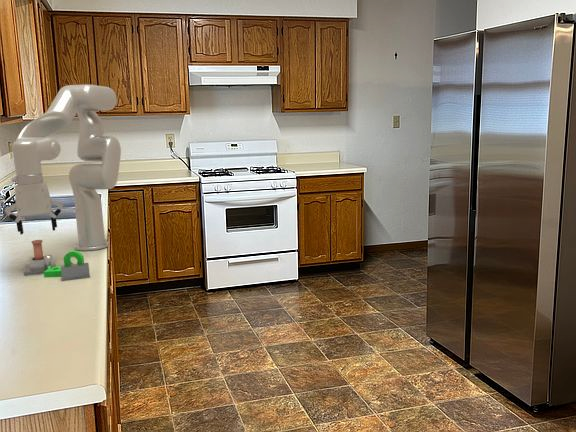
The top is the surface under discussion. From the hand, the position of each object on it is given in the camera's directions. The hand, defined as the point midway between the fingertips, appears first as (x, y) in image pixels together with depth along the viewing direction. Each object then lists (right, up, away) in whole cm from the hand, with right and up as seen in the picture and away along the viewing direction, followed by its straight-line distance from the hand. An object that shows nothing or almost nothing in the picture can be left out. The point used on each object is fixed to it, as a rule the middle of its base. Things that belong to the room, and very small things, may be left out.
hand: (38, 231), depth 186 cm
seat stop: (+16, -14, -9) cm, 23 cm away
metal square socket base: (0, -13, +1) cm, 13 cm away
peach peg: (0, -11, +1) cm, 12 cm away
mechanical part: (+11, -14, -4) cm, 18 cm away
